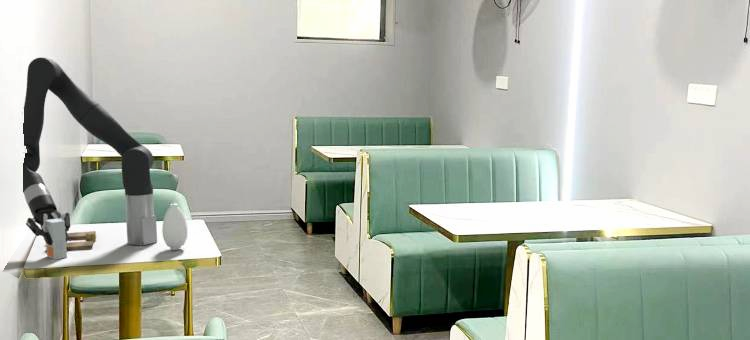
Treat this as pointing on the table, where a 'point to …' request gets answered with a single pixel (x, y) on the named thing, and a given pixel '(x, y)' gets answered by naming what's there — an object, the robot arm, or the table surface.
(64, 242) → the skincare box
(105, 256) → the table surface
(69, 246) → the brown wooden frame
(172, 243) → the white vase
